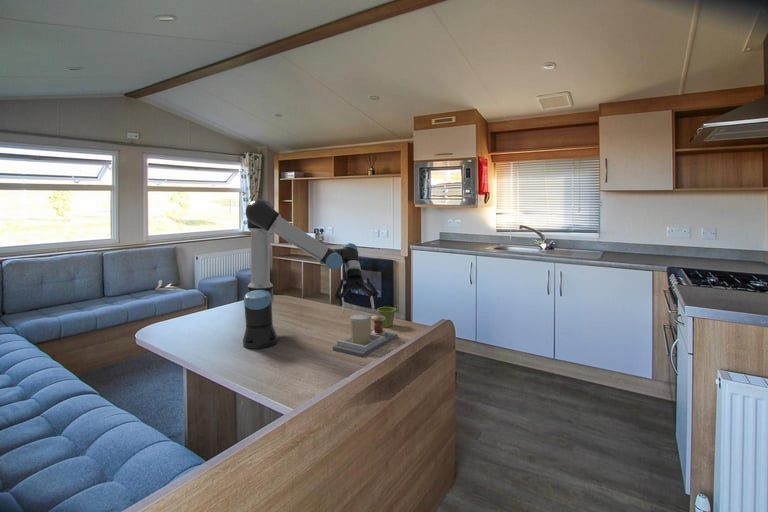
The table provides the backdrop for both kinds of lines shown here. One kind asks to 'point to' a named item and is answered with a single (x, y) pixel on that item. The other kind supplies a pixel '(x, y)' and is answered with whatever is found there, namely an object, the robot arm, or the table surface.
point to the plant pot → (387, 315)
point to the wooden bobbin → (378, 325)
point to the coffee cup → (360, 328)
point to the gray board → (361, 350)
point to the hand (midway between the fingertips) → (358, 310)
